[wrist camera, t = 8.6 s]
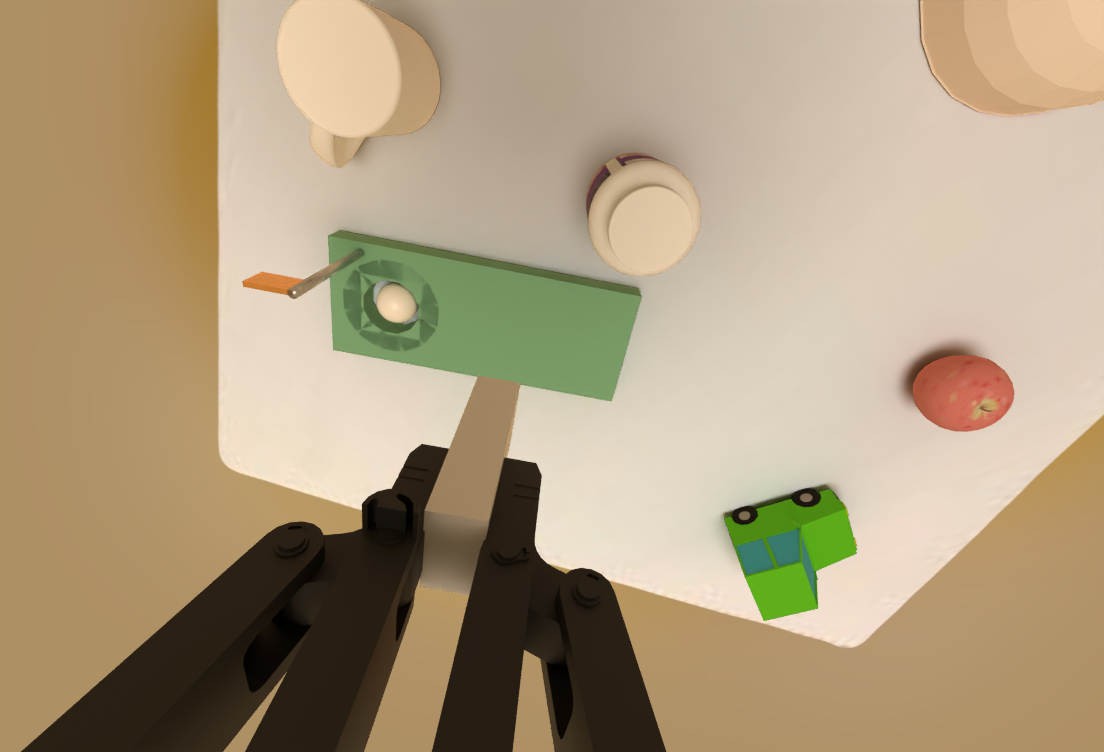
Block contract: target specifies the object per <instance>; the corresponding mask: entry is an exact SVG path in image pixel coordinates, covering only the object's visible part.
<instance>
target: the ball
mask: <svg viewBox="0 0 1104 752" xmlns="http://www.w3.org/2000/svg"><path fill="white" fill-rule="evenodd" d="M376 304H377V308H378V311H379V313H380V314H381V315H382V316H383V317H384V318H385V319H387V320H388V321H391V322H395V323H402V322H406V321H408V320H410V319H411V318H412V317H413V316H414V315H415V313H416V312H417V309H418V304H417V302H416V300H415V298H414V296H413V294H412V292H411V291H409V290H408V289H407V288H405V287H404V286H403V285H401V284H400V283H390V284H387V285H385V286H384V287H383V288H382V289H381V290H380V291H379V293H378V295H377V299H376Z"/></svg>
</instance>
